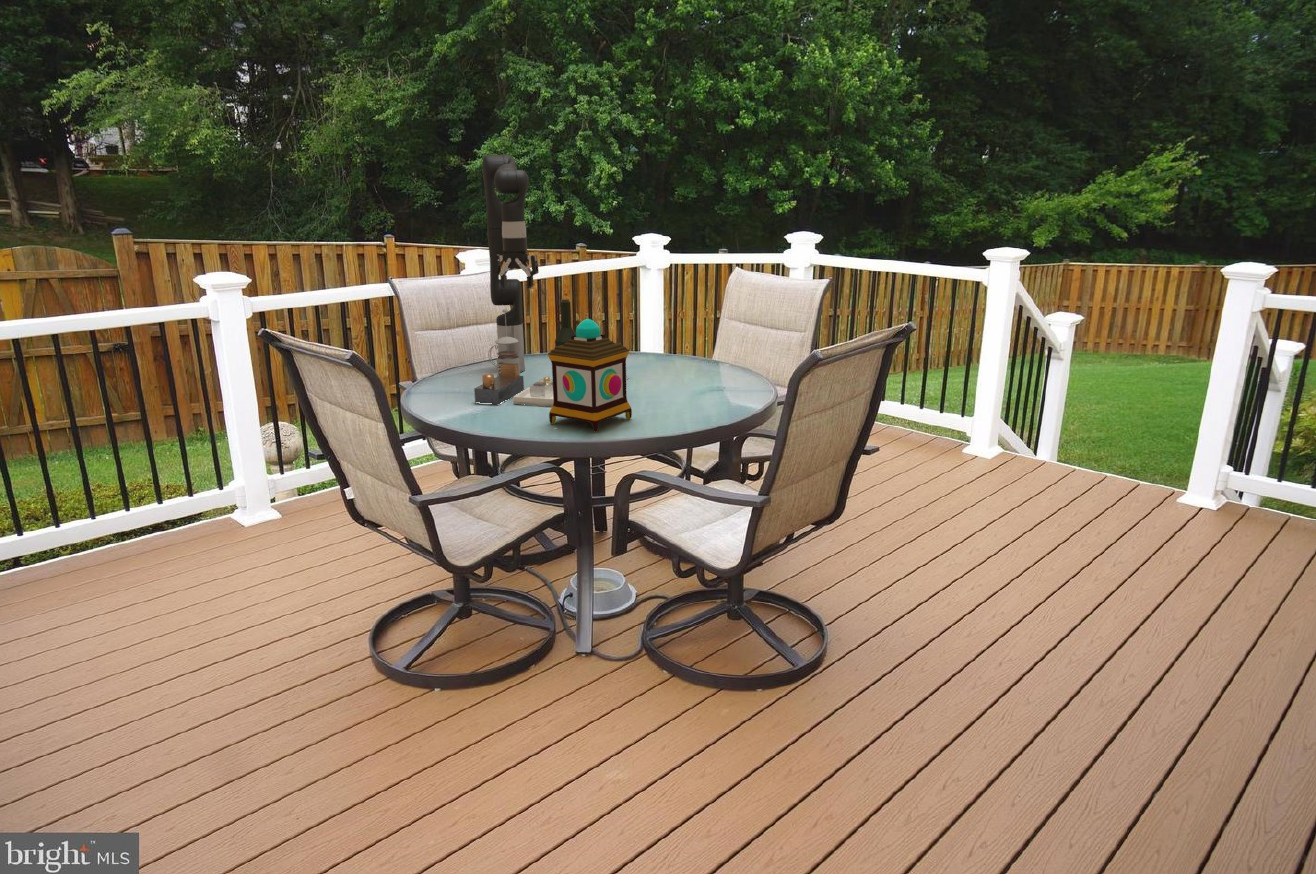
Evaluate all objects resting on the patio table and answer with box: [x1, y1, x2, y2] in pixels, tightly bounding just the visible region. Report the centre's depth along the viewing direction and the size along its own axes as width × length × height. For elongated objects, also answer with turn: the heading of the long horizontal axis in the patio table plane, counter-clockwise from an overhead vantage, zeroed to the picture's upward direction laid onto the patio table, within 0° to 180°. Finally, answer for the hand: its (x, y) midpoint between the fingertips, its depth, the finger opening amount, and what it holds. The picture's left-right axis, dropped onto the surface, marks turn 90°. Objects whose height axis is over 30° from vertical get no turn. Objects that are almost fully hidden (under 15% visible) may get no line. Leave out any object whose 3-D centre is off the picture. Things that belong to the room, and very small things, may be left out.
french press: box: [487, 308, 521, 377], centre depth 302 cm, size 10×12×25 cm
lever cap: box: [529, 376, 553, 398], centre depth 278 cm, size 10×5×6 cm, turn 165°
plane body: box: [473, 363, 525, 405], centre depth 282 cm, size 20×8×9 cm, turn 165°
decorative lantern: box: [547, 318, 633, 433], centre depth 250 cm, size 20×20×30 cm
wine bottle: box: [554, 298, 576, 348], centre depth 288 cm, size 8×8×30 cm
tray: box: [512, 386, 554, 408], centre depth 279 cm, size 16×14×2 cm
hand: (517, 287), depth 280 cm, fingers open, 8 cm apart
